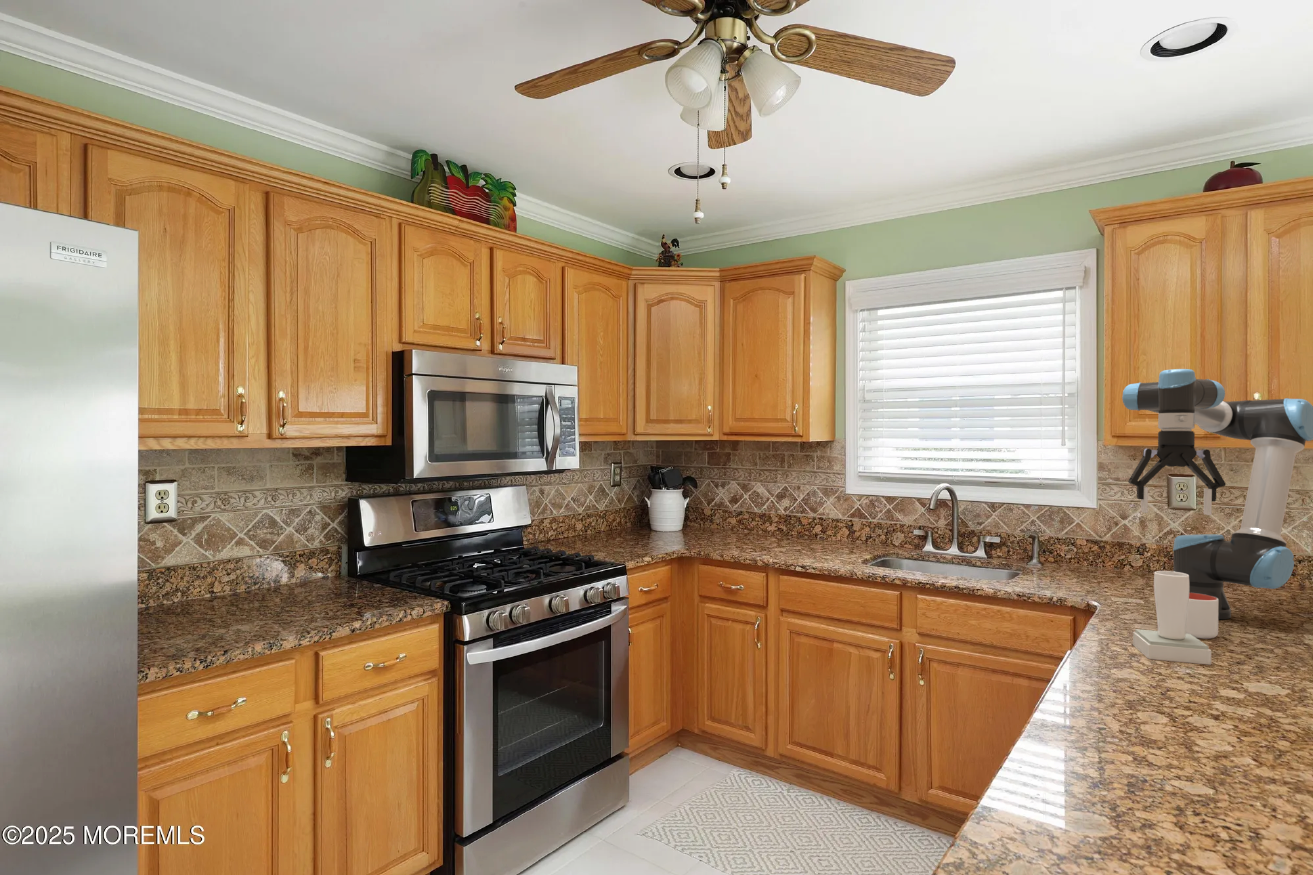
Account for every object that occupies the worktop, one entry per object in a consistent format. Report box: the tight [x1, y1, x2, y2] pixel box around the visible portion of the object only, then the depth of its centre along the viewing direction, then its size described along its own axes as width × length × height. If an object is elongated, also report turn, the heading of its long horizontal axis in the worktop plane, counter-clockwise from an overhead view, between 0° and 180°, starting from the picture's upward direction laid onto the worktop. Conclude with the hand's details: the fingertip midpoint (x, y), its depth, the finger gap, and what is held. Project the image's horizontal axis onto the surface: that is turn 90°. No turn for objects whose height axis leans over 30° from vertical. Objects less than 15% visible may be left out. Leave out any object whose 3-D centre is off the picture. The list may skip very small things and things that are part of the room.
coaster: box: [1132, 628, 1212, 666], centre depth 167 cm, size 12×12×4 cm
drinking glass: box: [1153, 570, 1190, 640], centre depth 167 cm, size 7×7×15 cm
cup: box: [1186, 593, 1219, 640], centre depth 185 cm, size 10×10×10 cm
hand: (1175, 513), depth 182 cm, fingers open, 13 cm apart
